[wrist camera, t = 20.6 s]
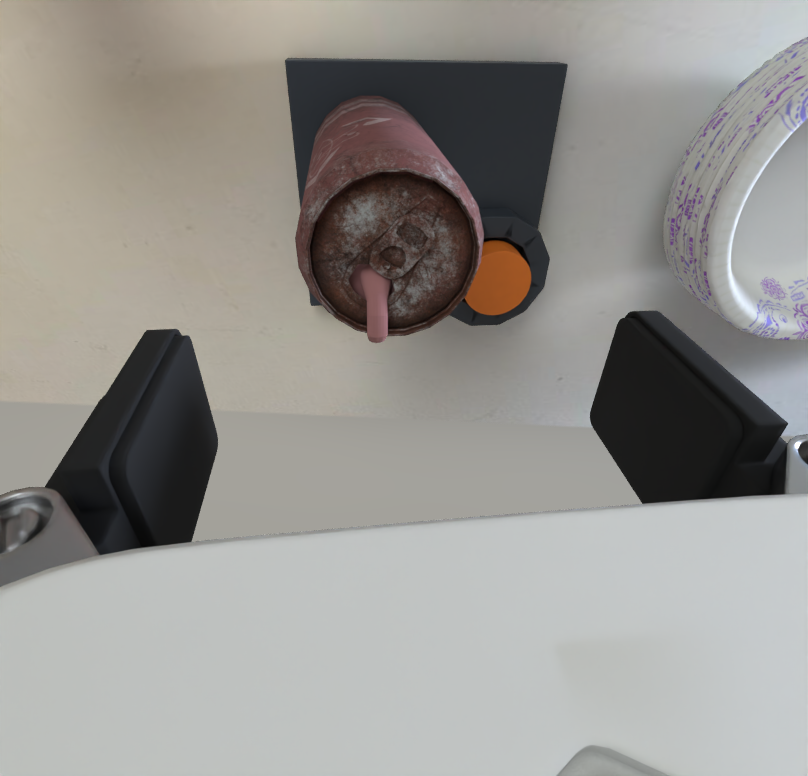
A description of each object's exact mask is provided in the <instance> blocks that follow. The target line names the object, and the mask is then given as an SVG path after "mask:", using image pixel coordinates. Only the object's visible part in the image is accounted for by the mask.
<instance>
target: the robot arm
mask: <svg viewBox="0 0 808 776" xmlns="http://www.w3.org/2000/svg"><path fill="white" fill-rule="evenodd" d="M590 421H591V424H592V426H593V428H594V430H595V431H596V433H597V434H598V436H599V437H600V439H601V440H602V442H603V444H604V445H605V447H606V448H607V450H608V451H609V453H610V454H611V456H612V457H613V459H614V460H615V462H616V463H617V465H618V467H619V468H620V470H621V471H622V473H623V474H624V476H625V477H626V479H627V481H628V482H629V484H630V485H631V487H632V488H633V490H634V491H635V493H636V494H637V496H638V497H639V499H640V500H641V502H642V504H635V505H621V506H608V507H596V508H582V509H569V510H557V511H556V510H555V511H543V512H530V513H518V514H505V515H493V516H480V517H468V518H456V519H444V520H431V521H419V522H408V523H396V524H384V525H373V526H362V527H349V528H338V529H327V530H314V531H303V532H292V533H280V534H269V535H257V536H246V537H236V538H224V539H214V540H205V541H196V542H191V541H192V538H193V534H194V531H195V527H196V524H197V520H198V516H199V513H200V509H201V506H202V502H203V499H204V495H205V491H206V488H207V484H208V481H209V477H210V474H211V470H212V467H213V463H214V460H215V456H216V452H217V447H218V437H217V432H216V428H215V424H214V421H213V417H212V414H211V410H210V406H209V403H208V399H207V395H206V392H205V388H204V384H203V381H202V377H201V373H200V370H199V366H198V362H197V359H196V355H195V352H194V348H193V344H192V341H191V339H190V337H189V336H182V335H181V333H180V332H179V330H177V329H164V330H147V331H146V332H145V333H144V334H143V336H142V338H141V339H140V341H139V342H138V344H137V346H136V347H135V349H134V350H133V352H132V354H131V355H130V357H129V358H128V360H127V361H126V363H125V365H124V366H123V368H122V369H121V371H120V373H119V374H118V376H117V377H116V379H115V381H114V382H113V384H112V385H111V387H110V388H109V390H108V392H107V393H106V395H105V396H103V398H102V399H101V400H100V401H99V402H98V404H97V406H96V407H95V409H94V410H93V412H92V413H91V415H90V417H89V418H88V420H87V421H86V423H85V424H84V426H83V428H82V429H81V431H80V432H79V434H78V436H77V437H76V439H75V440H74V442H73V444H72V445H71V447H70V448H69V450H68V451H67V453H66V455H65V456H64V457H63V459H62V461H61V463H60V464H59V465H58V467H57V469H56V470H55V472H54V473H53V475H52V477H51V478H50V480H49V481H48V483H47V484H46V486H45V487H28V488H23V489H18V490H14V491H10V492H7V493H5V494H2V495H0V776H808V434H806V435H799V436H795V437H794V438H792V439H790V440H789V442H788V443H786V442H785V441H784V440H783V439H782V438H781V437H780V436H781V434H782V433H783V431H784V430H785V428H786V426H787V425H788V423H787V422H786V421H785V420H784V419H782V418H781V417H780V416H779V415H778V414H777V413H776V412H774V411H773V410H772V409H771V408H770V407H769V406H768V405H766V404H765V403H764V402H763V401H762V400H761V399H759V398H758V397H757V396H756V395H755V394H754V393H753V392H751V391H750V390H749V389H748V388H747V387H746V386H744V385H743V384H742V383H741V382H740V381H739V380H738V379H736V378H735V377H734V376H733V375H732V374H731V373H729V372H728V371H727V370H726V369H725V368H724V367H723V366H721V365H720V364H719V363H718V362H717V361H716V360H714V359H713V358H712V357H711V356H710V355H709V354H708V353H706V352H705V351H704V350H703V349H702V348H701V347H700V346H698V345H697V344H696V343H695V342H694V341H693V340H691V339H690V338H689V337H688V336H687V335H686V334H685V333H683V332H682V331H681V330H680V329H679V328H678V327H676V326H675V325H674V324H673V323H672V322H671V321H670V320H668V319H667V318H666V317H665V316H664V315H663V314H661V313H660V312H658V311H633V312H630V313H628V314H627V315H626V317H625V318H622V319H620V321H619V322H618V324H617V327H616V330H615V334H614V337H613V340H612V343H611V346H610V350H609V353H608V356H607V359H606V363H605V366H604V369H603V372H602V376H601V379H600V382H599V385H598V388H597V392H596V395H595V398H594V401H593V405H592V408H591V412H590Z"/></svg>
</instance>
